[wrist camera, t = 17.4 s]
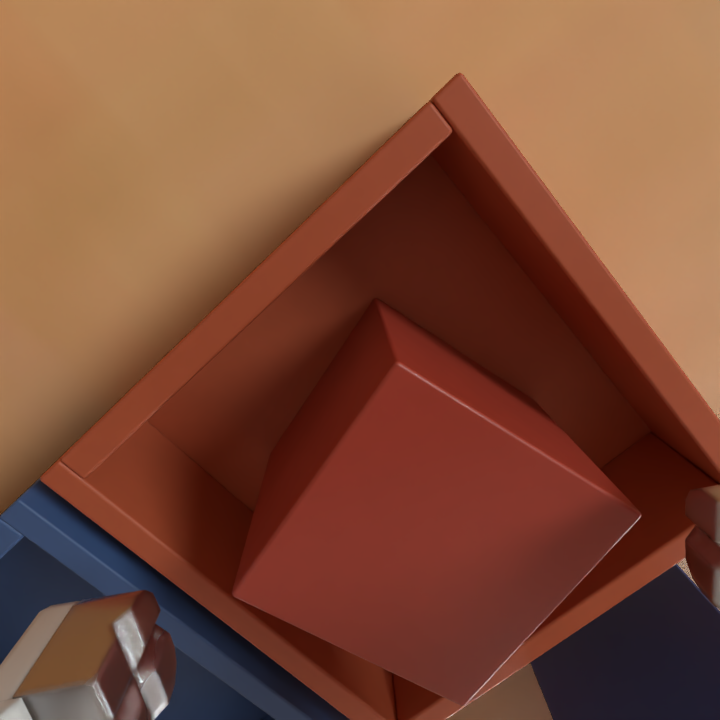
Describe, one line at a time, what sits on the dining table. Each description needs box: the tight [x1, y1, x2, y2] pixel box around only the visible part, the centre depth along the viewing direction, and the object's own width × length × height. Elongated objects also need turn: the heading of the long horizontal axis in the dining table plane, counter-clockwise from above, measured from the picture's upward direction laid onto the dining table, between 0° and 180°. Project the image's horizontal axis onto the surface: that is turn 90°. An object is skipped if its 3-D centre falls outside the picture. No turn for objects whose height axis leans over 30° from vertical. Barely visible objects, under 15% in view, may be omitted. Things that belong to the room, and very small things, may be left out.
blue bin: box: [0, 477, 350, 720], centre depth 13 cm, size 10×10×4 cm
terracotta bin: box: [40, 73, 720, 720], centre depth 11 cm, size 10×10×4 cm
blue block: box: [530, 564, 720, 720], centre depth 13 cm, size 5×5×5 cm
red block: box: [232, 298, 641, 706], centre depth 10 cm, size 5×5×5 cm
